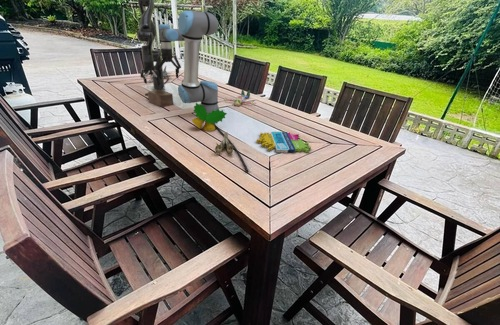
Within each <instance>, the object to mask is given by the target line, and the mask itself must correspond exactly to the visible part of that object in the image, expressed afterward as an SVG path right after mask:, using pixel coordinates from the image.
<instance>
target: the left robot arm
mask: <svg viewBox="0 0 500 325" xmlns="http://www.w3.org/2000/svg"><path fill="white" fill-rule="evenodd" d="M137 4H138V7H139V12H140V16H141V17H140V22H139V23H140V25H139V28H138V31H137V34H136V36H137V37H136V38H137V39H138V41H139V42H142V43H146V44H143V45H141V54H142V56H141V58H142V64H143V69H142V68H141V69H139V72H140V78H142V79H143V83H144V84H148V81H147V78H148V76H150V75H152V76H151V78H152V77H153V82H152V85H153V91H154V90H163V91H166V90H165V89H166V86H165V84H167V83H168V82H169V78H167V77H168V76H166V81H165V78H163V70H164V68H163V66H162V67H161V69H160V70H161V77H162V79H159V75H158V73H157V70H156V69H154V67H155V63H156V62H157V56H162V53H161V50H157V49H156V50H155V49H153V43H154V42H155V39H156V37H157V29H156V24H155V23H154V21H153V19H152V17H153V12H154V5H155V0H137ZM161 61H162V58H161V59H160V62H159V64H160V63H161ZM158 66H159V65H158Z"/></svg>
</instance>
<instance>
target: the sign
mask: <svg viewBox="0 0 500 325" xmlns="http://www.w3.org/2000/svg"><path fill="white" fill-rule="evenodd" d="M299 136H300V135H299V134H298V133H296V134H294V133H291V132H287V131H270V132H264V133H263V132H260V133H259V139H258V138H257V139H256V143H257V144H261V148H263V147H264V148H265V149H267V151H268V152H271V151H272V150H273V149H275V152H276V153H283V154H285V153H287V154H288V153H290V154H293V153H296V152H298V153H301V152H305V153H310V151H311V150H312V149H311V148H312V146H309V142H304V141H303V139H302V138H299Z"/></svg>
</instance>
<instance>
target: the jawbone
mask: <svg viewBox="0 0 500 325" xmlns="http://www.w3.org/2000/svg"><path fill="white" fill-rule="evenodd" d="M223 134H224V136H223V140H222V139H221V142H220V144H218V142H215V144H216V146H215V148H214V149H215V152H214V154H215V155H217V156H218V155H220V153H221V152H223V151H224V150H226V152H227V153H228V155H229V156H233V155H234V154H233V153H234V147H233V146H232V145H234V143H232V145H231V144H230V142H229V141H228V139H229V138H228V137H229V136H228V135H229V133H228V131H226V132H223Z"/></svg>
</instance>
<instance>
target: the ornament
mask: <svg viewBox="0 0 500 325" xmlns="http://www.w3.org/2000/svg"><path fill="white" fill-rule="evenodd" d="M219 110H220V108H219V109H217V110H216V111H214V110H212V112H211V113H208V112H206V109H204V106H201V103H199V102H195V105H194V106H193V112H194V113H195V118H192V119H191V122H192V123H193V125H195V127H197V128H198V129H202V130H203V131H206V132H212V131H213V132H214V131H215V130H216V127H215V126H214V124H213V123H215V124H218V123H219V122H223V119H226V115H227V114H228V113H227V112H224V110H223V109H221V110H220V111H219ZM207 113H208V115H207Z"/></svg>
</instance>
